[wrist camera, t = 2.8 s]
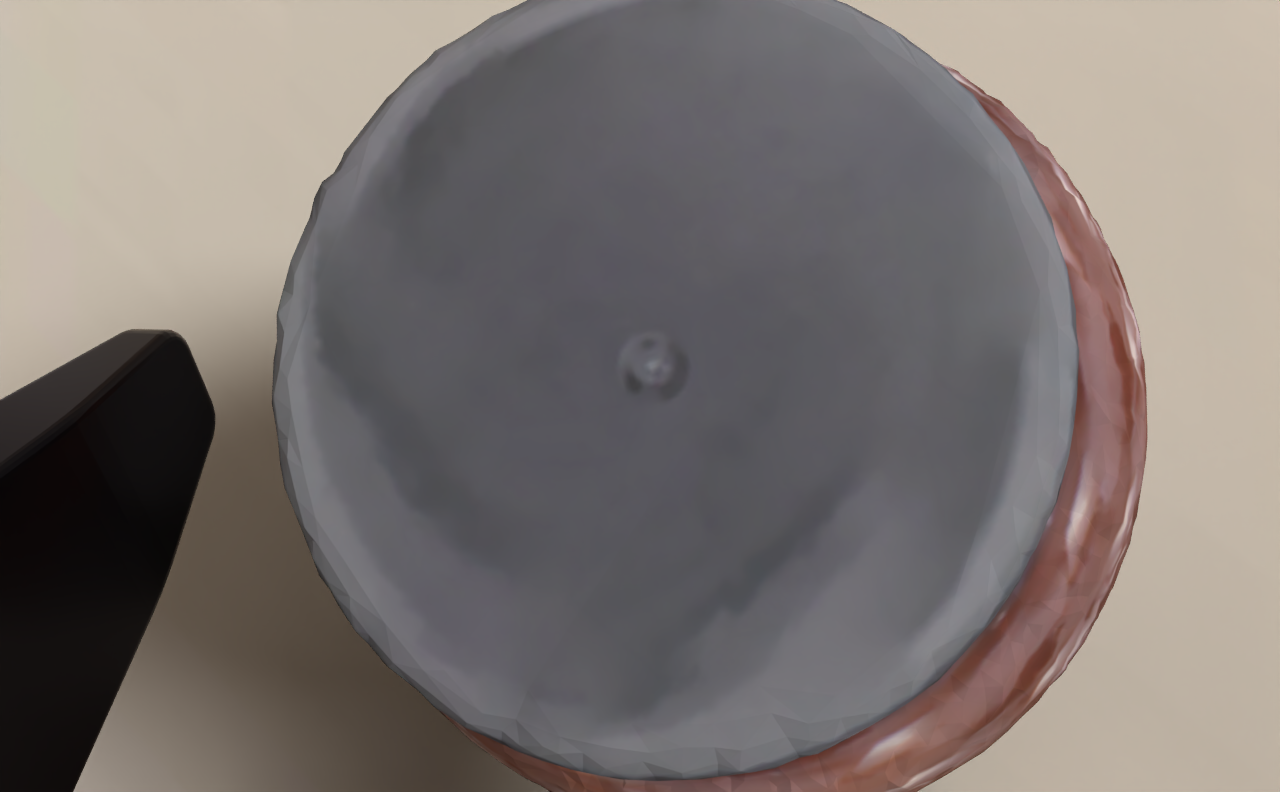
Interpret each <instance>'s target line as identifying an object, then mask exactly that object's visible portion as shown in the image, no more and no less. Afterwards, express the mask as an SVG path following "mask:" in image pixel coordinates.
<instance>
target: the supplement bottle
mask: <svg viewBox="0 0 1280 792" xmlns="http://www.w3.org/2000/svg"><path fill="white" fill-rule="evenodd" d="M272 406H273V411H274V417H275V423H276V429H277V435H278V442H279V454H280V465H281V470H282V475H283V481H284V486H285V490H286V492H287V494H288V497H289V499H290V502H291V504H292V506H293V509H294V511H295V514H296V516H297V519H298V522H299V524H300V527H301V529H302V532H303V534H304V537H305V539H306V542H307V544H308V547H309V549H310V552H311V555H312V557H313V560H314V563H315V565H316V568H317V570H318V573H319V576H320V577H321V578H322V580H323V581H324V582H325V584H326V585H327V586H328V588H329V589H330V590H331V592H332V594H333V596H334V598H335V600H336V602H337V604H338V605H339V607H340V608H341V610H342V612H343V613H344V615H345V616H346V618H347V619H348V621H349V622H350V624H351V625H352V627H353V628H354V630H355V631H356V632H357V633H358V634H359V635H360V636H361V637H362V638H363V639H364V640H365V641H366V642H367V643H368V644H369V645H370V646H371V647H372V649H373V650H374V651H375V652H376V653H377V655H378V656H379V657H380V658H381V660H382V661H383V662H384V663H385V664H386V666H388V667H389V668H390V669H391V670H393V671H394V672H395V673H397V674H398V675H399V676H400V677H402V678H403V679H404V680H405V681H407V682H408V683H409V684H411V685H412V686H413V687H414V688H416V689H417V690H418V691H419V692H420V693H421V694H422V695H423V696H424V697H425V698H426V699H427V700H428V701H429V702H430V703H431V704H432V705H433V706H434V707H435V708H436V709H438V710H439V711H440V712H441V713H442V714H443V715H444V716H445V717H446V718H447V719H448V720H449V721H451V722H452V723H453V724H454V725H455V726H456V727H457V728H458V729H459V730H460V731H461V732H462V733H463V734H465V735H466V736H467V737H468V738H469V739H470V740H471V741H473V742H474V743H475V744H477V745H478V746H479V747H481V748H482V749H483V750H485V751H486V752H487V753H489V754H490V755H491V756H493V757H494V758H495V759H497V760H498V761H500V762H501V763H503V764H504V765H506V766H507V767H509V768H510V769H512V770H513V771H515V772H516V773H518V774H520V775H521V776H523V777H524V778H526V779H528V780H530V781H532V782H534V783H536V784H539V785H541V786H542V787H544V788H545V789H547V790H548V791H550V792H917V791H918V790H920V789H922V788H924V787H926V786H927V785H929V784H931V783H933V782H935V781H936V780H938V779H940V778H942V777H943V776H945V775H947V774H948V773H950V772H952V771H953V770H955V769H957V768H958V767H960V766H961V765H963V764H965V763H966V762H968V761H970V760H971V759H973V758H974V757H976V756H978V755H979V754H981V753H983V752H984V751H985V750H986V749H987V748H989V747H990V746H991V745H992V744H993V743H994V742H996V741H997V740H998V739H999V738H1000V737H1001V736H1003V735H1004V734H1005V733H1006V732H1007V731H1008V730H1009V729H1010V728H1011V727H1012V726H1013V725H1014V724H1015V723H1016V722H1017V721H1018V720H1019V719H1020V718H1021V717H1022V716H1023V715H1024V714H1025V713H1026V712H1027V711H1029V710H1030V709H1031V708H1032V707H1033V706H1034V705H1035V704H1036V703H1037V702H1038V701H1039V699H1040V698H1041V697H1042V695H1043V694H1044V693H1045V691H1046V690H1047V689H1048V687H1049V686H1050V685H1051V684H1052V683H1053V682H1054V681H1056V680H1057V679H1058V678H1059V677H1060V676H1061V675H1062V673H1063V672H1064V671H1065V670H1066V668H1067V666H1068V664H1069V663H1070V661H1071V660H1072V659H1073V657H1074V656H1075V654H1076V653H1077V652H1078V650H1079V649H1080V648H1081V646H1082V645H1083V644H1084V642H1085V640H1086V638H1087V636H1088V634H1089V632H1090V630H1091V628H1092V626H1093V625H1094V623H1095V621H1096V619H1097V618H1098V616H1099V613H1100V612H1101V610H1102V608H1103V606H1104V605H1105V602H1106V600H1107V598H1108V596H1109V593H1110V591H1111V590H1112V588H1113V586H1114V583H1115V581H1116V578H1117V575H1118V573H1119V570H1120V567H1121V564H1122V562H1123V559H1124V557H1125V554H1126V552H1127V549H1128V547H1129V544H1130V541H1131V535H1132V530H1133V525H1134V522H1135V519H1136V517H1137V511H1138V504H1139V498H1140V492H1141V486H1142V480H1143V474H1144V467H1145V461H1146V449H1147V406H1146V383H1145V365H1144V359H1143V356H1142V351H1141V341H1140V332H1139V328H1138V324H1137V321H1136V317H1135V314H1134V310H1133V308H1132V305H1131V302H1130V299H1129V296H1128V293H1127V290H1126V286H1125V283H1124V280H1123V278H1122V275H1121V272H1120V270H1119V267H1118V265H1117V263H1116V261H1115V259H1114V257H1113V256H1112V253H1111V251H1110V249H1109V247H1108V245H1107V243H1106V241H1105V240H1104V237H1103V234H1102V232H1101V229H1100V227H1099V225H1098V223H1097V221H1096V220H1095V219H1094V218H1093V217H1092V215H1091V213H1090V210H1089V208H1088V206H1087V204H1086V202H1085V201H1084V199H1083V197H1082V195H1081V194H1080V193H1079V191H1078V190H1077V189H1076V188H1075V186H1074V185H1073V183H1072V182H1071V180H1070V178H1069V176H1068V175H1067V173H1066V172H1065V171H1064V169H1063V168H1062V167H1061V166H1060V165H1059V164H1058V163H1057V161H1056V160H1055V158H1054V157H1053V155H1052V153H1051V152H1050V150H1049V149H1048V148H1047V147H1046V146H1044V145H1042V144H1040V143H1039V142H1038V141H1037V140H1036V138H1035V136H1034V135H1033V133H1032V132H1031V131H1029V130H1028V129H1027V128H1026V127H1025V125H1024V124H1023V123H1021V122H1020V121H1019V120H1018V119H1017V118H1016V117H1015V115H1014V114H1013V113H1012V112H1011V111H1010V110H1009V109H1008V108H1007V107H1005V106H1004V105H1003V103H1002V102H1001V101H1000V100H998V99H995V98H993V97H991V96H989V95H987V94H985V92H984V91H983V90H982V89H980V88H979V87H977V86H976V85H974V84H973V83H972V82H970V81H969V80H967V79H966V78H965V77H963V76H962V75H961V74H960V73H959V72H958V71H956V70H954V69H952V68H949V67H947V66H944V65H942V64H939V63H938V62H937V61H936V60H934V59H933V58H932V57H931V56H929V55H928V54H927V53H925V52H924V51H923V50H921V49H920V48H918V47H917V46H916V45H914V44H913V43H912V42H910V41H909V40H908V39H907V38H905V37H904V36H903V35H901V34H900V33H898V32H897V31H895V30H894V29H892V28H890V27H888V26H886V25H885V24H883V23H881V22H879V21H877V20H875V19H874V18H872V17H870V16H868V15H866V14H864V13H862V12H861V11H859V10H857V9H855V8H853V7H851V6H849V5H848V4H845V3H842V2H839V1H837V0H527V1H525V2H523V3H521V4H519V5H517V6H515V7H513V8H511V9H509V10H506V11H504V12H501V13H499V14H496V15H494V16H492V17H490V18H489V19H488V20H486V21H485V22H483V23H482V24H480V25H479V26H477V27H476V28H474V29H473V30H471V31H470V32H468V33H467V34H465V35H463V36H462V37H460V38H458V39H457V40H455V41H453V42H451V43H449V44H447V45H446V46H444V47H442V48H440V49H438V50H436V51H435V52H434V53H433V54H432V55H431V56H430V57H429V58H428V59H427V60H426V61H425V62H424V63H423V64H422V65H421V66H419V67H418V68H417V69H416V70H415V71H414V72H412V73H411V74H410V75H409V76H408V77H407V78H406V79H405V81H404V82H403V83H402V84H401V85H400V86H399V87H398V88H397V89H396V90H395V91H394V92H393V93H392V94H391V95H390V96H388V97H387V98H386V100H385V101H384V102H383V104H382V105H381V106H380V107H379V109H378V110H377V111H376V113H375V114H374V115H373V116H372V118H371V119H370V120H369V122H368V123H367V124H366V125H365V127H364V128H363V129H362V131H361V132H360V133H359V134H358V136H357V137H356V138H355V139H354V141H353V142H352V143H351V145H350V146H349V147H348V148H347V150H346V151H345V152H344V155H343V157H342V160H341V162H340V163H339V165H338V167H337V169H336V170H335V172H334V173H333V174H332V175H331V176H330V177H328V178H327V179H326V180H324V181H323V182H322V184H321V186H320V188H319V190H318V192H317V194H316V196H315V198H314V202H313V206H312V211H311V215H310V218H309V221H308V223H307V225H306V227H305V229H304V232H303V234H302V236H301V239H300V241H299V243H298V246H297V248H296V250H295V253H294V255H293V257H292V260H291V263H290V266H289V270H288V274H287V278H286V281H285V285H284V289H283V293H282V296H281V300H280V304H279V308H278V312H277V344H276V350H275V356H274V368H273V390H272Z"/></svg>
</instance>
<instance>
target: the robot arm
mask: <svg viewBox="0 0 1280 792" xmlns="http://www.w3.org/2000/svg"><path fill="white" fill-rule="evenodd" d="M214 430H215V412H214V407H213V404H212V401H211V398H210V396H209V394H208V391H207V389H206V387H205V384H204V382H203V379H202V377H201V375H200V372H199V370H198V367H197V365H196V363H195V360H194V358H193V356H192V353H191V351H190V348H189V346H188V344H187V342H186V340H185V339H184V338H183V337H182V336H181V335H180V334H178V333H177V332H174V331H172V330H153V329H132V330H127V331H124V332H122V333H120V334H118V335H116V336H115V337H113V338H111V339H109V340H107V341H106V342H104V343H102V344H100V345H98V346H97V347H95V348H93V349H91V350H89V351H88V352H86V353H84V354H82V355H80V356H79V357H77V358H75V359H73V360H71V361H70V362H68V363H66V364H64V365H62V366H61V367H59V368H57V369H55V370H53V371H52V372H50V373H48V374H46V375H44V376H43V377H41V378H39V379H37V380H35V381H33V382H32V383H30V384H28V385H26V386H24V387H23V388H21V389H19V390H17V391H15V392H14V393H12V394H10V395H8V396H6V397H5V398H3V399H1V400H0V792H73V791H74V789H75V786H76V784H77V782H78V780H79V777H80V775H81V773H82V771H83V768H84V766H85V764H86V762H87V760H88V757H89V755H90V753H91V751H92V748H93V746H94V744H95V742H96V740H97V737H98V735H99V733H100V731H101V728H102V726H103V724H104V722H105V719H106V717H107V715H108V713H109V711H110V708H111V706H112V704H113V702H114V699H115V697H116V695H117V693H118V691H119V688H120V686H121V684H122V682H123V679H124V677H125V675H126V673H127V670H128V668H129V666H130V664H131V662H132V659H133V657H134V655H135V653H136V650H137V648H138V646H139V644H140V642H141V639H142V637H143V635H144V633H145V630H146V628H147V626H148V624H149V622H150V619H151V617H152V615H153V612H154V610H155V608H156V605H157V603H158V600H159V598H160V596H161V593H162V591H163V588H164V585H165V583H166V580H167V577H168V574H169V572H170V569H171V566H172V563H173V560H174V557H175V554H176V551H177V548H178V545H179V542H180V538H181V535H182V532H183V529H184V526H185V523H186V520H187V517H188V514H189V510H190V507H191V504H192V501H193V498H194V495H195V492H196V489H197V486H198V482H199V479H200V476H201V473H202V470H203V467H204V464H205V461H206V457H207V454H208V451H209V448H210V445H211V442H212V439H213V435H214Z"/></svg>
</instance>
